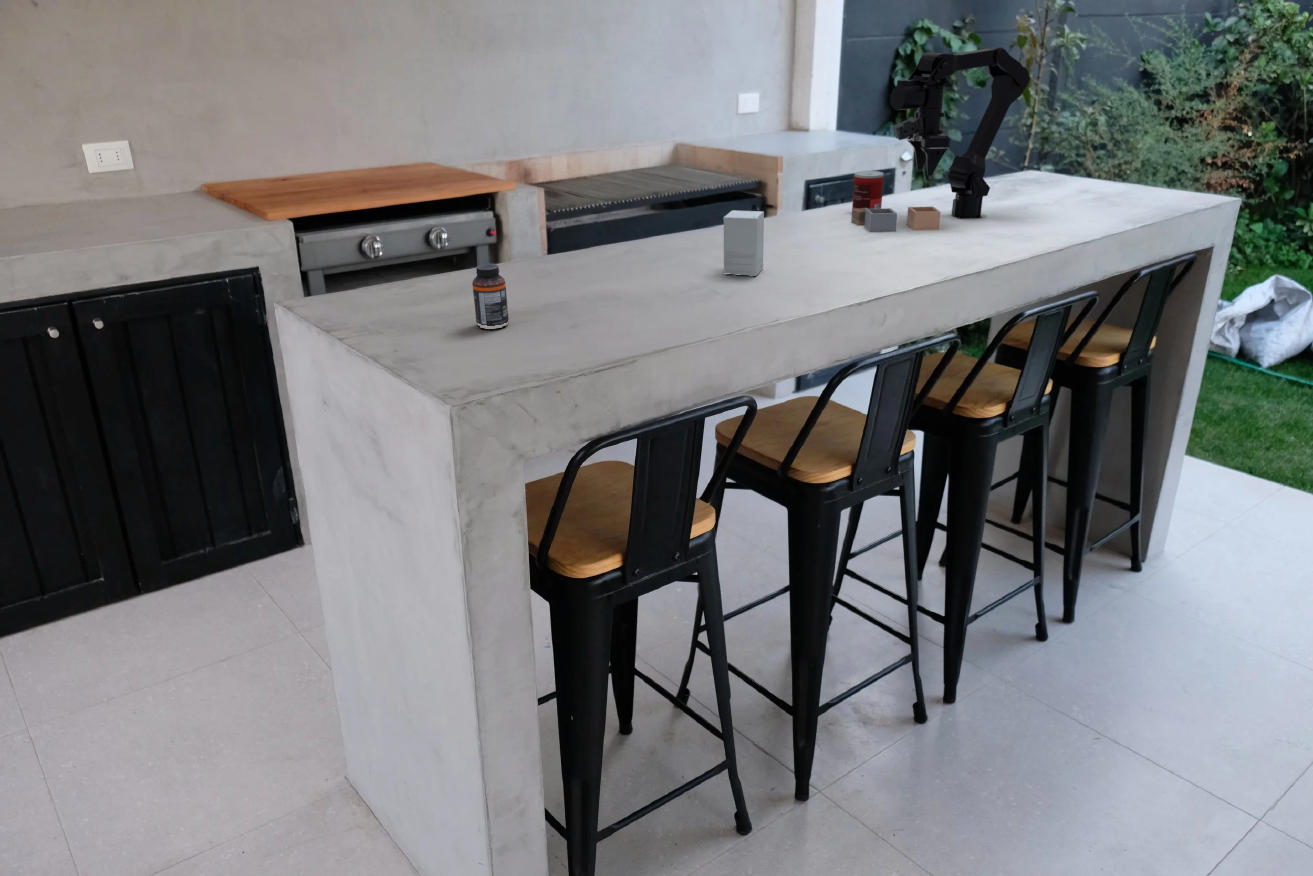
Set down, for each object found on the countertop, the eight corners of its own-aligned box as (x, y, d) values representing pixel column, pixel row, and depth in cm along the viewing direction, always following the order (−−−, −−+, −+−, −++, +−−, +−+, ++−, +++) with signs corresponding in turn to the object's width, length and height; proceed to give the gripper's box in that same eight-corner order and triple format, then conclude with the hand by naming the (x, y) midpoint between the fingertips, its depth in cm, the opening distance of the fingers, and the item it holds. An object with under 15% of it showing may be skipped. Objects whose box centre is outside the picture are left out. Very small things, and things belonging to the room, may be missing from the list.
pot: (931, 226, 252) (933, 206, 250) (938, 231, 246) (940, 211, 244) (906, 226, 252) (908, 207, 250) (912, 232, 246) (914, 212, 244)
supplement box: (764, 268, 217) (765, 210, 211) (755, 277, 210) (757, 218, 205) (731, 266, 219) (732, 209, 214) (722, 275, 212) (722, 216, 207)
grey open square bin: (889, 228, 251) (890, 208, 249) (895, 233, 245) (897, 213, 243) (864, 228, 251) (865, 208, 249) (869, 234, 245) (871, 214, 243)
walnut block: (865, 223, 256) (866, 207, 255) (872, 226, 253) (873, 210, 251) (851, 224, 255) (852, 208, 254) (858, 227, 252) (859, 211, 250)
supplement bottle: (477, 321, 185) (472, 262, 181) (509, 320, 186) (504, 261, 181) (475, 331, 180) (469, 270, 175) (508, 330, 180) (503, 269, 176)
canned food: (879, 211, 269) (882, 170, 265) (882, 217, 262) (885, 175, 258) (850, 211, 270) (853, 170, 266) (853, 217, 263) (855, 175, 258)
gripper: (888, 104, 251) (883, 167, 257) (907, 112, 234) (901, 179, 240) (932, 103, 251) (926, 166, 258) (954, 111, 234) (947, 178, 241)
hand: (924, 172), depth 249 cm, fingers open, 9 cm apart
